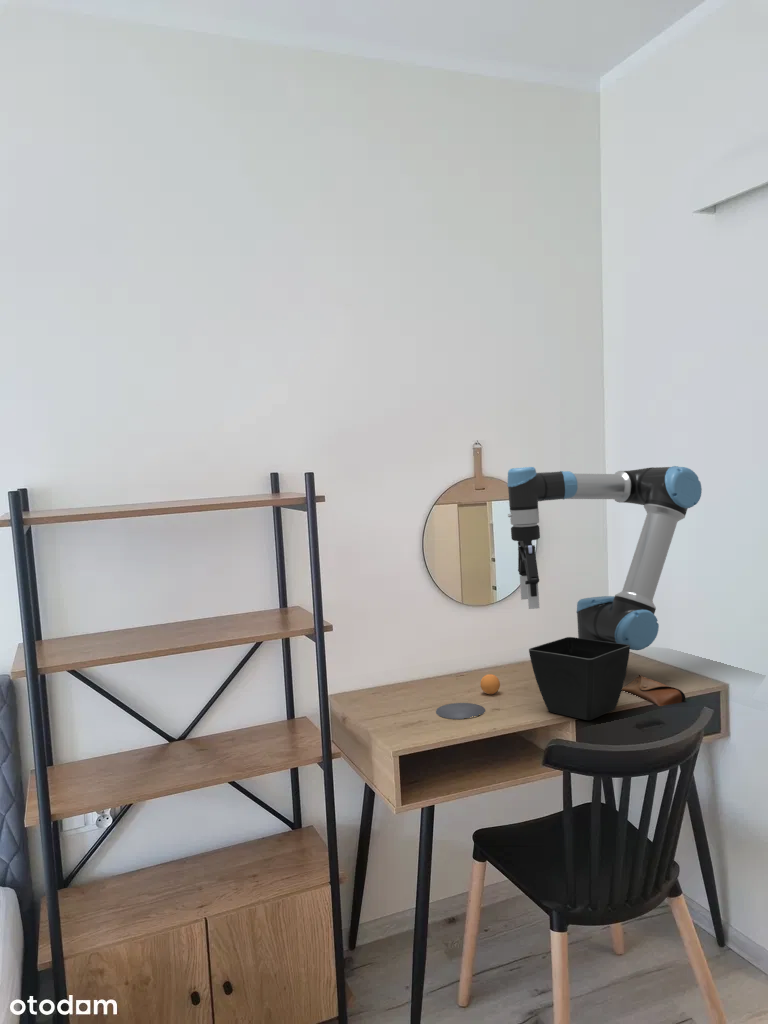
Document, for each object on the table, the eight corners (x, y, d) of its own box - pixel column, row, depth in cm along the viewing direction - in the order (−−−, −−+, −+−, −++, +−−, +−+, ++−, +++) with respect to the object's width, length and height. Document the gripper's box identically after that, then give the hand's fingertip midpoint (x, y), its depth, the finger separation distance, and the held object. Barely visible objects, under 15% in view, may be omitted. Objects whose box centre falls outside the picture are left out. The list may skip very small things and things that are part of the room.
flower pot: (571, 695, 210) (568, 634, 209) (634, 708, 196) (631, 643, 195) (529, 713, 197) (526, 648, 196) (594, 728, 183) (591, 659, 182)
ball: (486, 689, 219) (485, 671, 219) (503, 692, 216) (502, 673, 216) (477, 695, 215) (476, 675, 214) (494, 697, 211) (493, 678, 211)
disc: (451, 701, 211) (451, 700, 211) (493, 707, 203) (493, 706, 203) (426, 714, 200) (426, 714, 200) (469, 722, 192) (469, 721, 192)
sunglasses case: (615, 689, 212) (625, 667, 213) (634, 698, 215) (643, 677, 215) (660, 707, 195) (670, 683, 196) (679, 717, 198) (689, 693, 199)
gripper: (505, 522, 216) (510, 596, 217) (517, 530, 191) (522, 613, 192) (531, 520, 216) (536, 594, 217) (547, 528, 191) (552, 611, 192)
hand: (530, 603), depth 205 cm, fingers open, 13 cm apart
